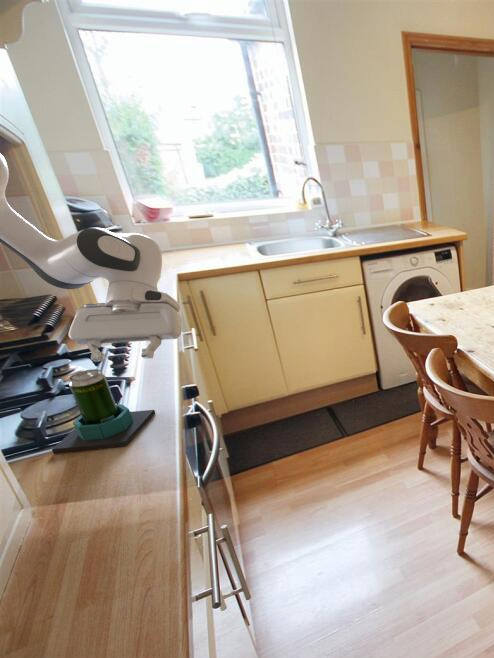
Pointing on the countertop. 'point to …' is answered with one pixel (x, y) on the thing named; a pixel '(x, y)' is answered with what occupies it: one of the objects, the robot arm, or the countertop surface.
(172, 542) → the countertop surface
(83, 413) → the beer can
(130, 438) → the can pad
